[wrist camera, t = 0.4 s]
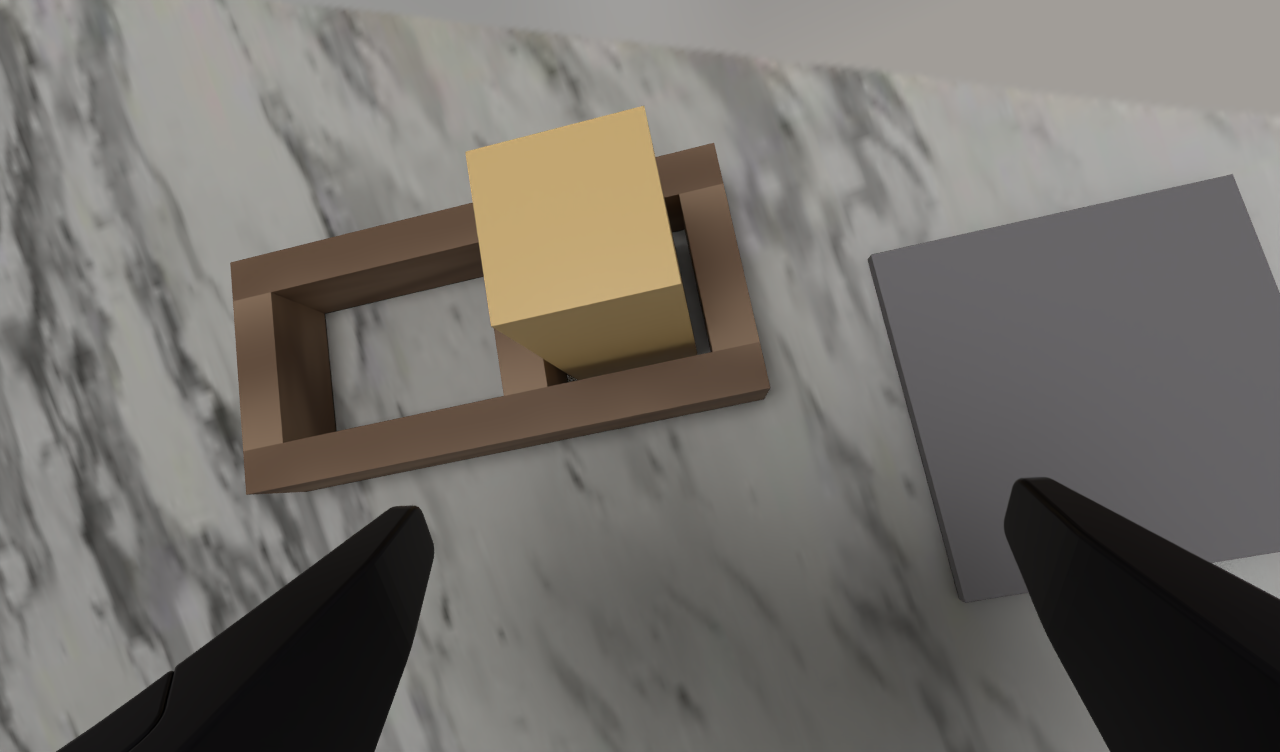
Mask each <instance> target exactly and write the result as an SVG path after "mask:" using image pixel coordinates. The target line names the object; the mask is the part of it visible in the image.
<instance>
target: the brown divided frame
mask: <svg viewBox="0 0 1280 752" xmlns="http://www.w3.org/2000/svg"><path fill="white" fill-rule="evenodd" d="M655 158H656V163H657V167H658V172H659V176H660V181H661V185H662V190H663V194H664V199H665V204H666V208H667V213H668V217H669V222H670V226H671V231H672V232H675V231H679V230H683V229H685V233H686V238H687V242H688V247H689V252H690V256H691V261H692V266H693V270H694V275H695V280H696V284H697V289H698V294H699V298H700V303H701V308H702V312H703V317H704V322H705V326H706V331H707V336H708V340H709V345H710V350H711V352H709V353H705V354H700V355H695V356H690V357H686V358H681V359H676V360H672V361H667V362H662V363H657V364H653V365H648V366H643V367H639V368H634V369H629V370H624V371H620V372H615V373H610V374H606V375H601V376H596V377H591V378H587V379H582V380H577V381H572V382H567V376H566V373H565V372H564V371H562V370H560V369H559V368H557V367H556V366H554V365H552V364H551V363H549V362H548V361H546V360H544V359H543V358H541V357H540V356H538V355H536V354H535V353H533V352H532V351H530V350H528V349H527V348H525V347H524V346H522V345H520V344H519V343H517V342H515V341H514V340H512V339H511V338H509V337H507V336H506V335H504V334H503V333H501V332H499V331H498V330H496V329H495V328H494V332H495V339H496V346H497V352H498V359H499V366H500V372H501V379H502V386H503V393H504V396H502V397H497V398H492V399H488V400H483V401H478V402H473V403H469V404H464V405H459V406H454V407H450V408H445V409H440V410H436V411H431V412H426V413H421V414H417V415H412V416H407V417H403V418H398V419H393V420H388V421H384V422H379V423H374V424H370V425H365V426H360V427H355V428H351V429H346V430H341V431H337V432H336V427H335V416H334V406H333V396H332V385H331V375H330V365H329V354H328V344H327V334H326V323H325V313H329V312H333V311H337V310H342V309H346V308H350V307H355V306H359V305H363V304H367V303H372V302H376V301H380V300H384V299H389V298H393V297H397V296H402V295H406V294H410V293H414V292H419V291H423V290H427V289H431V288H436V287H440V286H444V285H448V284H453V283H457V282H461V281H466V280H470V279H474V278H478V277H483V276H484V274H483V267H482V261H481V254H480V247H479V240H478V234H477V227H476V220H475V213H474V207H473V203H469V204H465V205H461V206H457V207H453V208H449V209H445V210H441V211H437V212H433V213H429V214H425V215H421V216H417V217H413V218H409V219H405V220H401V221H397V222H393V223H389V224H385V225H380V226H376V227H372V228H368V229H364V230H360V231H356V232H352V233H348V234H344V235H340V236H336V237H332V238H328V239H324V240H320V241H316V242H312V243H308V244H304V245H300V246H296V247H292V248H288V249H284V250H280V251H276V252H271V253H267V254H263V255H259V256H255V257H251V258H247V259H243V260H239V261H235V262H231V263H230V264H231V278H232V293H233V308H234V322H235V337H236V351H237V366H238V380H239V395H240V410H241V424H242V439H243V453H244V468H245V483H246V495H248V494H269V493H290V492H307V491H312V490H317V489H322V488H327V487H332V486H337V485H341V484H346V483H351V482H356V481H361V480H366V479H371V478H376V477H381V476H386V475H391V474H396V473H401V472H406V471H411V470H416V469H421V468H426V467H431V466H436V465H440V464H445V463H450V462H455V461H460V460H465V459H470V458H475V457H480V456H485V455H490V454H495V453H500V452H505V451H510V450H515V449H520V448H525V447H530V446H535V445H540V444H544V443H549V442H554V441H559V440H564V439H569V438H574V437H579V436H584V435H589V434H594V433H599V432H604V431H609V430H614V429H619V428H624V427H629V426H634V425H639V424H643V423H648V422H653V421H658V420H663V419H668V418H673V417H678V416H683V415H688V414H693V413H698V412H703V411H708V410H713V409H718V408H723V407H728V406H733V405H738V404H743V403H747V402H752V401H757V400H762V399H764V398H765V396H766V395H767V393H768V391H769V389H770V384H769V380H768V376H767V371H766V367H765V363H764V358H763V354H762V350H761V345H760V341H759V337H758V332H757V328H756V324H755V319H754V315H753V311H752V306H751V302H750V297H749V293H748V289H747V284H746V280H745V276H744V271H743V267H742V263H741V258H740V254H739V250H738V245H737V241H736V237H735V232H734V228H733V223H732V219H731V215H730V210H729V206H728V202H727V197H726V193H725V189H724V184H723V180H722V176H721V171H720V167H719V163H718V158H717V154H716V150H715V145H714V143H712V144H707V145H703V146H699V147H695V148H691V149H687V150H683V151H679V152H675V153H671V154H667V155H663V156H659V157H655Z"/></svg>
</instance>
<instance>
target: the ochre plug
mask: <svg viewBox="0 0 1280 752" xmlns="http://www.w3.org/2000/svg"><path fill="white" fill-rule="evenodd" d="M466 159H467V166H468V173H469V180H470V186H471V193H472V200H473V207H474V213H475V220H476V227H477V234H478V240H479V247H480V254H481V261H482V267H483V274H484V281H485V288H486V295H487V301H488V308H489V315H490V322H491V327H493V328H495V329H496V330H498V331H499V332H501V333H503V334H504V335H506V336H507V337H509V338H511V339H512V340H514V341H515V342H517V343H519V344H520V345H522V346H524V347H525V348H527V349H528V350H530V351H532V352H533V353H535V354H536V355H538V356H540V357H541V358H543V359H544V360H546V361H548V362H549V363H551V364H552V365H554V366H556V367H557V368H559V369H560V370H562V371H564V372H565V373H567V374H569V375H570V376H572V377H573V378H575V379H577V380H582V379H587V378H591V377H596V376H601V375H606V374H610V373H615V372H620V371H624V370H629V369H634V368H639V367H643V366H648V365H653V364H657V363H662V362H667V361H672V360H676V359H681V358H686V357H690V356H695V355H698V354H697V349H696V345H695V340H694V335H693V330H692V325H691V321H690V316H689V311H688V306H687V302H686V297H685V292H684V287H683V283H682V278H681V273H680V268H679V264H678V259H677V254H676V249H675V244H674V240H673V235H672V231H671V226H670V222H669V217H668V213H667V208H666V204H665V199H664V194H663V190H662V185H661V181H660V176H659V172H658V167H657V163H656V158H655V153H654V149H653V144H652V140H651V135H650V131H649V126H648V122H647V117H646V112H645V108H644V106H641V107H637V108H633V109H630V110H626V111H622V112H618V113H614V114H610V115H606V116H602V117H599V118H595V119H591V120H587V121H583V122H579V123H575V124H571V125H568V126H564V127H560V128H556V129H552V130H548V131H544V132H540V133H537V134H533V135H529V136H525V137H521V138H517V139H513V140H509V141H505V142H502V143H498V144H494V145H490V146H486V147H482V148H478V149H474V150H471V151H467V152H466Z"/></svg>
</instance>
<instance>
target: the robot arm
mask: <svg viewBox="0 0 1280 752" xmlns="http://www.w3.org/2000/svg"><path fill="white" fill-rule="evenodd" d="M1004 532H1005V536H1006V539H1007V541H1008V544H1009V546H1010V549H1011V551H1012V554H1013V556H1014V558H1015V561H1016V563H1017V566H1018V568H1019V570H1020V573H1021V575H1022V578H1023V580H1024V582H1025V585H1026V587H1027V590H1028V592H1029V595H1030V597H1031V599H1032V602H1033V604H1034V607H1035V609H1036V611H1037V614H1038V616H1039V619H1040V621H1041V623H1042V625H1043V627H1044V630H1045V632H1046V634H1047V636H1048V638H1049V640H1050V642H1051V644H1052V646H1053V648H1054V650H1055V651H1056V653H1057V655H1058V657H1059V659H1060V661H1061V662H1062V664H1063V666H1064V668H1065V670H1066V672H1067V673H1068V675H1069V677H1070V679H1071V681H1072V683H1073V684H1074V686H1075V688H1076V690H1077V692H1078V694H1079V695H1080V697H1081V699H1082V701H1083V703H1084V704H1085V706H1086V708H1087V710H1088V712H1089V714H1090V715H1091V717H1092V719H1093V721H1094V723H1095V725H1096V726H1097V728H1098V730H1099V732H1100V734H1101V736H1102V737H1103V739H1104V741H1105V743H1106V745H1107V747H1108V748H1109V750H1110V752H1280V599H1278V598H1277V597H1275V596H1273V595H1271V594H1269V593H1267V592H1265V591H1263V590H1261V589H1260V588H1258V587H1256V586H1254V585H1252V584H1250V583H1248V582H1246V581H1244V580H1243V579H1241V578H1239V577H1237V576H1235V575H1233V574H1231V573H1229V572H1227V571H1225V570H1224V569H1222V568H1220V567H1218V566H1216V565H1214V564H1212V563H1210V562H1208V561H1207V560H1205V559H1203V558H1201V557H1199V556H1197V555H1195V554H1193V553H1191V552H1190V551H1188V550H1186V549H1184V548H1182V547H1180V546H1178V545H1176V544H1174V543H1172V542H1171V541H1169V540H1167V539H1165V538H1163V537H1161V536H1159V535H1157V534H1155V533H1154V532H1152V531H1150V530H1148V529H1146V528H1144V527H1142V526H1140V525H1138V524H1137V523H1135V522H1133V521H1131V520H1129V519H1127V518H1125V517H1123V516H1121V515H1120V514H1118V513H1116V512H1114V511H1112V510H1110V509H1108V508H1106V507H1104V506H1102V505H1101V504H1099V503H1097V502H1095V501H1093V500H1091V499H1089V498H1087V497H1085V496H1084V495H1082V494H1080V493H1078V492H1076V491H1074V490H1072V489H1070V488H1068V487H1067V486H1065V485H1063V484H1061V483H1059V482H1057V481H1055V480H1053V479H1051V478H1048V477H1028V478H1020V479H1017V480H1016V481H1015V482H1014V484H1013V486H1012V490H1011V494H1010V498H1009V501H1008V505H1007V509H1006V513H1005V517H1004ZM433 559H434V544H433V540H432V538H431V535H430V532H429V529H428V526H427V524H426V521H425V518H424V515H423V513H422V511H421V509H420V508H419V507H417V506H396V507H392V508H390V509H388V510H387V511H386V512H384V513H383V514H381V515H380V516H379V517H377V518H376V519H375V520H373V521H372V522H371V523H369V524H368V525H367V526H365V527H364V528H363V529H361V530H360V531H358V532H357V533H356V534H354V535H353V536H352V537H350V538H349V539H348V540H346V541H345V542H344V543H342V544H341V545H340V546H338V547H337V548H336V549H334V550H333V551H331V552H330V553H329V554H327V555H326V556H325V557H323V558H322V559H321V560H319V561H318V562H317V563H315V564H314V565H313V566H311V567H310V568H308V569H307V570H306V571H304V572H303V573H302V574H300V575H299V576H298V577H296V578H295V579H294V580H292V581H291V582H290V583H288V584H287V585H285V586H284V587H283V588H281V589H280V590H279V591H277V592H276V593H275V594H273V595H272V596H271V597H269V598H268V599H267V600H265V601H264V602H262V603H261V604H260V605H258V606H257V607H256V608H254V609H253V610H252V611H250V612H249V613H248V614H246V615H245V616H244V617H242V618H241V619H239V620H238V621H237V622H235V623H234V624H233V625H231V626H230V627H229V628H227V629H226V630H225V631H223V632H222V633H221V634H219V635H218V636H216V637H215V638H214V639H212V640H211V641H210V642H208V643H207V644H206V645H204V646H203V647H202V648H200V649H199V650H198V651H196V652H195V653H193V654H192V655H191V656H189V657H188V658H187V659H185V660H184V661H183V662H181V663H180V664H179V665H177V666H176V667H175V670H174V671H169V672H168V673H166V674H165V675H164V676H162V677H161V678H160V679H158V680H157V681H155V682H154V683H153V684H151V685H150V686H149V687H147V688H146V689H145V690H143V691H142V692H141V693H139V694H138V695H136V696H135V697H134V698H132V699H131V700H129V701H128V702H127V703H125V704H124V705H123V706H121V707H120V708H118V709H117V710H116V711H114V712H113V713H111V714H110V715H109V716H107V717H106V718H104V719H103V720H102V721H100V722H99V723H97V724H96V725H95V726H93V727H92V728H90V729H89V730H87V731H86V732H84V733H83V734H81V735H80V736H79V737H77V738H76V739H74V740H73V741H71V742H70V743H68V744H67V745H65V746H64V747H62V748H61V749H59V750H58V751H56V752H374V751H375V749H376V746H377V743H378V740H379V738H380V735H381V732H382V729H383V727H384V724H385V721H386V718H387V715H388V713H389V710H390V707H391V704H392V702H393V699H394V696H395V693H396V690H397V688H398V685H399V682H400V679H401V677H402V674H403V671H404V668H405V666H406V663H407V660H408V657H409V654H410V651H411V647H412V644H413V640H414V637H415V633H416V629H417V625H418V620H419V616H420V612H421V608H422V604H423V600H424V596H425V592H426V588H427V584H428V580H429V575H430V571H431V567H432V563H433Z"/></svg>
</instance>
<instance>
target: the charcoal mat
mask: <svg viewBox="0 0 1280 752" xmlns="http://www.w3.org/2000/svg"><path fill="white" fill-rule="evenodd" d="M868 262H869V266H870V269H871V273H872V277H873V281H874V284H875V288H876V292H877V295H878V299H879V303H880V306H881V310H882V314H883V318H884V321H885V325H886V329H887V332H888V336H889V340H890V344H891V347H892V351H893V355H894V358H895V362H896V366H897V369H898V373H899V377H900V381H901V384H902V388H903V392H904V395H905V399H906V403H907V407H908V410H909V414H910V418H911V421H912V425H913V429H914V432H915V436H916V440H917V444H918V447H919V451H920V455H921V458H922V462H923V466H924V469H925V473H926V477H927V481H928V484H929V488H930V492H931V495H932V499H933V503H934V507H935V510H936V514H937V518H938V521H939V525H940V529H941V532H942V536H943V540H944V544H945V547H946V551H947V555H948V558H949V562H950V566H951V570H952V573H953V577H954V581H955V584H956V588H957V592H958V595H959V599H960V600H962V601H964V602H965V603H966V602H972V601H978V600H984V599H991V598H997V597H1003V596H1009V595H1015V594H1021V593H1028V590H1027V587H1026V585H1025V582H1024V580H1023V578H1022V575H1021V573H1020V570H1019V568H1018V566H1017V563H1016V561H1015V558H1014V556H1013V554H1012V551H1011V549H1010V546H1009V544H1008V541H1007V539H1006V536H1005V532H1004V517H1005V513H1006V509H1007V505H1008V501H1009V498H1010V494H1011V490H1012V486H1013V484H1014V482H1015V481H1016V480H1017V479H1020V478H1028V477H1048V478H1051V479H1053V480H1055V481H1057V482H1059V483H1061V484H1063V485H1065V486H1067V487H1068V488H1070V489H1072V490H1074V491H1076V492H1078V493H1080V494H1082V495H1084V496H1085V497H1087V498H1089V499H1091V500H1093V501H1095V502H1097V503H1099V504H1101V505H1102V506H1104V507H1106V508H1108V509H1110V510H1112V511H1114V512H1116V513H1118V514H1120V515H1121V516H1123V517H1125V518H1127V519H1129V520H1131V521H1133V522H1135V523H1137V524H1138V525H1140V526H1142V527H1144V528H1146V529H1148V530H1150V531H1152V532H1154V533H1155V534H1157V535H1159V536H1161V537H1163V538H1165V539H1167V540H1169V541H1171V542H1172V543H1174V544H1176V545H1178V546H1180V547H1182V548H1184V549H1186V550H1188V551H1190V552H1191V553H1193V554H1195V555H1197V556H1199V557H1201V558H1203V559H1205V560H1207V561H1208V562H1210V563H1213V562H1219V561H1225V560H1232V559H1238V558H1244V557H1250V556H1256V555H1263V554H1269V553H1275V552H1280V293H1279V290H1278V288H1277V285H1276V283H1275V280H1274V278H1273V275H1272V273H1271V270H1270V268H1269V265H1268V262H1267V260H1266V257H1265V255H1264V252H1263V250H1262V247H1261V245H1260V242H1259V240H1258V237H1257V235H1256V232H1255V230H1254V227H1253V225H1252V222H1251V220H1250V217H1249V214H1248V212H1247V209H1246V207H1245V204H1244V202H1243V199H1242V197H1241V194H1240V192H1239V189H1238V187H1237V184H1236V182H1235V179H1234V177H1233V174H1231V175H1227V176H1222V177H1218V178H1214V179H1209V180H1205V181H1200V182H1196V183H1191V184H1187V185H1182V186H1178V187H1173V188H1169V189H1164V190H1160V191H1155V192H1151V193H1146V194H1142V195H1137V196H1133V197H1128V198H1124V199H1119V200H1115V201H1110V202H1106V203H1101V204H1097V205H1092V206H1088V207H1083V208H1079V209H1074V210H1070V211H1065V212H1061V213H1056V214H1052V215H1047V216H1043V217H1038V218H1034V219H1029V220H1025V221H1020V222H1016V223H1011V224H1007V225H1002V226H998V227H993V228H989V229H984V230H980V231H975V232H971V233H966V234H962V235H957V236H953V237H948V238H944V239H939V240H935V241H930V242H926V243H921V244H917V245H912V246H908V247H903V248H899V249H894V250H890V251H885V252H881V253H876V254H872V255H871V256H870V257H869V258H868Z"/></svg>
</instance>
